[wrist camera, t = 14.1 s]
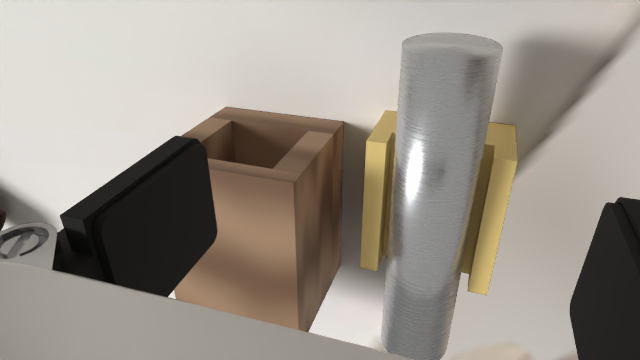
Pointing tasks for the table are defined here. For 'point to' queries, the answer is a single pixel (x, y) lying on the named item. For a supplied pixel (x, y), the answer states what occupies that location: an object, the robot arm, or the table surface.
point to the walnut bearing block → (270, 216)
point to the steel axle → (434, 184)
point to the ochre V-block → (486, 207)
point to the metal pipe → (2, 218)
